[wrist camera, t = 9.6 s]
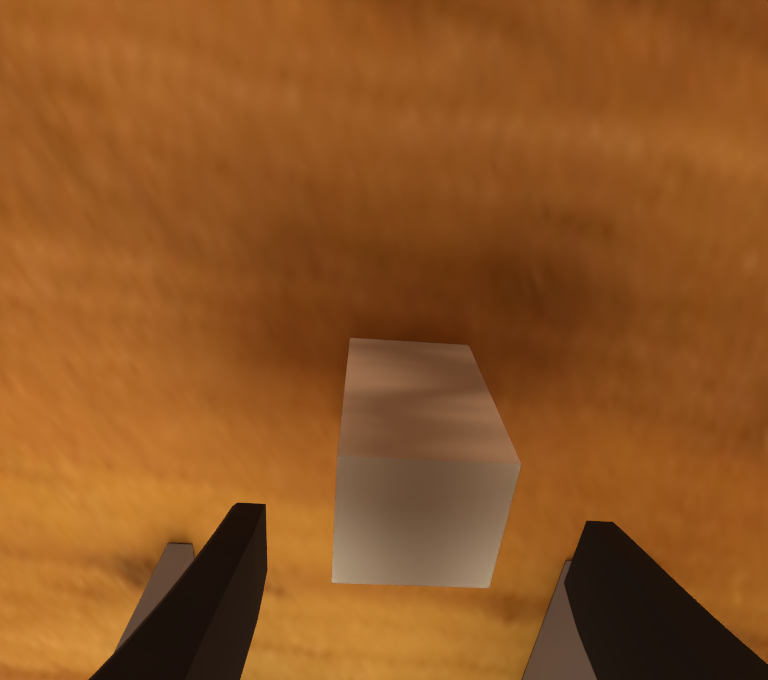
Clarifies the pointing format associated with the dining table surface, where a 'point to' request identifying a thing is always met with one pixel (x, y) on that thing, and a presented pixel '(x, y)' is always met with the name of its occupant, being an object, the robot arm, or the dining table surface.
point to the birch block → (419, 468)
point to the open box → (544, 670)
